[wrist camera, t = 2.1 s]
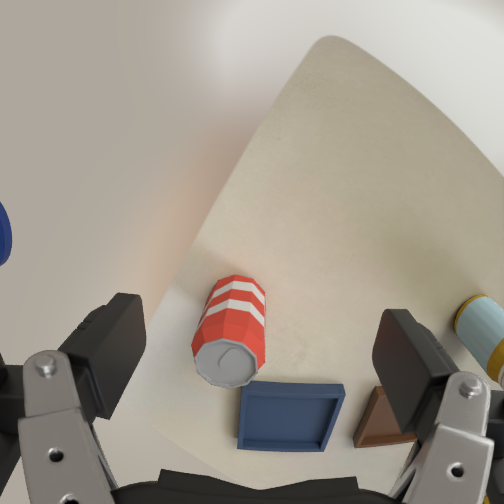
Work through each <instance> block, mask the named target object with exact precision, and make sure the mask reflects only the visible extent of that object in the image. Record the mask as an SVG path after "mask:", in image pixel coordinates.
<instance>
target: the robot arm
mask: <svg viewBox="0 0 504 504" xmlns="http://www.w3.org/2000/svg"><path fill="white" fill-rule="evenodd" d="M145 346H146V330H145V323H144V314H143V306H142V299H141V297H140V295H135V294H126V293H117V294H116V295H115V296H114V297H113V298H112V299H111V300H110V302H109V303H108V304H107V305H102V306H100V307H99V308H97V309H95V310H93V311H92V312H90V313H89V314H88V316H87V317H86V318H85V319H84V320H83V322H81V323H80V324H79V326H78V327H77V329H75V330H74V331H73V332H72V333H71V335H70V336H69V337H68V338H67V339H66V340H65V341H64V343H63V344H62V345H61V346H60V347H59V348H58V350H57V351H56V350H46V351H41V352H38V353H36V354H34V355H32V356H31V357H29V358H28V359H27V360H26V362H25V363H24V365H5V363H4V361H3V358H2V356H1V354H0V496H1V494H2V492H3V490H4V488H5V486H6V484H7V482H8V480H9V478H10V476H11V474H12V472H13V470H14V468H15V466H16V464H17V462H18V460H19V458H20V456H21V457H22V463H23V469H24V475H25V480H26V485H27V490H28V494H29V499H30V503H31V504H482V503H483V499H484V495H485V492H486V494H487V497H488V500H489V503H490V504H504V391H496V390H490V387H489V385H488V383H487V382H486V381H485V380H484V379H483V378H481V377H480V376H478V375H476V374H474V373H471V372H466V371H460V370H459V369H458V367H457V366H456V365H455V363H454V362H453V361H452V359H451V358H450V356H449V355H448V354H447V352H446V351H445V350H444V349H443V347H442V346H441V344H440V343H439V342H437V339H436V338H435V336H434V335H433V334H432V332H431V331H430V330H429V329H427V328H426V327H424V326H423V325H421V324H420V323H417V322H416V320H415V319H414V318H413V316H412V315H411V314H410V312H409V311H408V310H407V309H386V310H384V312H383V314H382V317H381V321H380V325H379V328H378V332H377V336H376V339H375V343H374V346H373V352H372V361H373V365H374V368H375V370H376V373H377V375H378V377H379V380H380V382H381V384H382V387H383V389H384V392H385V394H386V396H387V399H388V401H389V404H390V406H391V409H392V411H393V414H394V416H395V419H396V421H397V424H398V426H399V429H400V432H401V434H402V435H405V434H412V433H416V434H417V439H416V441H415V442H414V444H413V446H412V449H411V451H410V453H409V455H408V457H407V460H406V462H405V464H404V466H403V468H402V470H401V472H400V474H399V476H398V478H397V480H396V482H395V484H394V486H393V487H392V489H391V491H390V492H389V494H388V495H385V494H382V493H379V492H375V491H371V490H366V489H359V488H358V483H357V478H356V476H354V477H344V478H332V479H315V480H307V481H303V482H299V483H294V484H290V485H285V486H280V487H275V488H270V489H264V490H257V489H252V488H248V487H244V486H240V485H237V484H233V483H230V482H226V481H223V480H220V479H217V478H213V477H210V476H205V475H197V474H189V473H182V472H176V471H171V470H165V469H161V471H160V475H159V478H158V481H148V482H139V483H134V484H130V485H127V486H123V487H120V488H119V487H118V485H117V483H116V481H115V479H114V477H113V474H112V472H111V470H110V468H109V465H108V463H107V460H106V458H105V455H104V453H103V451H102V448H101V445H100V442H99V440H98V437H97V435H96V432H95V429H94V426H93V424H92V423H93V421H94V420H95V418H96V417H100V418H104V419H108V420H110V418H111V416H112V414H113V412H114V410H115V408H116V406H117V404H118V402H119V400H120V398H121V396H122V394H123V392H124V390H125V388H126V386H127V384H128V382H129V380H130V378H131V376H132V374H133V372H134V370H135V368H136V367H137V365H138V363H139V361H140V359H141V357H142V355H143V353H144V350H145Z"/></svg>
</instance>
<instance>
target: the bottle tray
mask: <svg viewBox="0 0 504 504" xmlns="http://www.w3.org/2000/svg"><path fill="white" fill-rule="evenodd" d="M416 439H417V434H416V433H412V434H405V435H402V434H401V432H400V429H399V426H398V424H397V421H396V419H395V416H394V414H393V411H392V409H391V406H390V404H389V401H388V399H387V396H386V394H385V392H384V389H383V387H382V386H376V387H375V389H374V391H373V394H372V396H371V399H370V401H369V403H368V406H367V408H366V411H365V413H364V415H363V417H362V420H361V422H360V424H359V426H358V429H357V431H356V433H355V435H354V437H353V443H354V447H355V448H365V447H376V446H385V445H394V444H401V443H409V442H415V441H416Z"/></svg>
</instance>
